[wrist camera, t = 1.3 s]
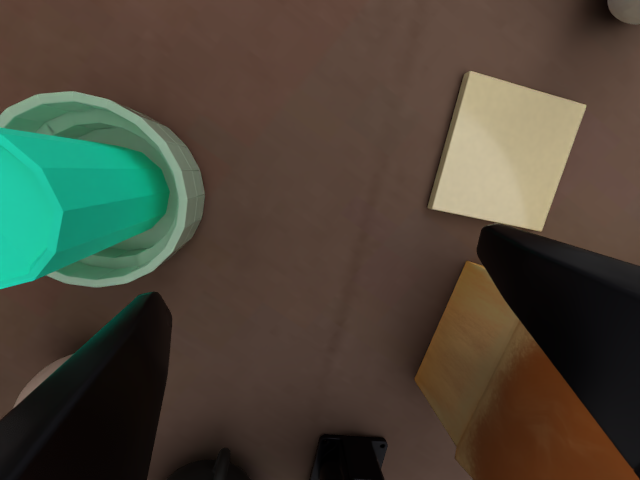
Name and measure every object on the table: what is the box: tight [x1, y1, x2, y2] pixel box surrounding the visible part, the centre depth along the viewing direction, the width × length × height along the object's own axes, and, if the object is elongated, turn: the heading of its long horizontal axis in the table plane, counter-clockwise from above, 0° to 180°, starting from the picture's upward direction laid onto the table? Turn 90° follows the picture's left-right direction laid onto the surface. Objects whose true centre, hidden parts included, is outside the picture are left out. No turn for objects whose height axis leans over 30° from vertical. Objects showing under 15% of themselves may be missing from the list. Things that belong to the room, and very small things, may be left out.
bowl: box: [0, 91, 205, 287], centre depth 19 cm, size 11×11×4 cm
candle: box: [0, 128, 170, 289], centre depth 15 cm, size 6×6×12 cm
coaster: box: [427, 71, 587, 231], centre depth 23 cm, size 10×10×1 cm
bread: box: [414, 261, 640, 480], centre depth 21 cm, size 25×12×15 cm, turn 71°
